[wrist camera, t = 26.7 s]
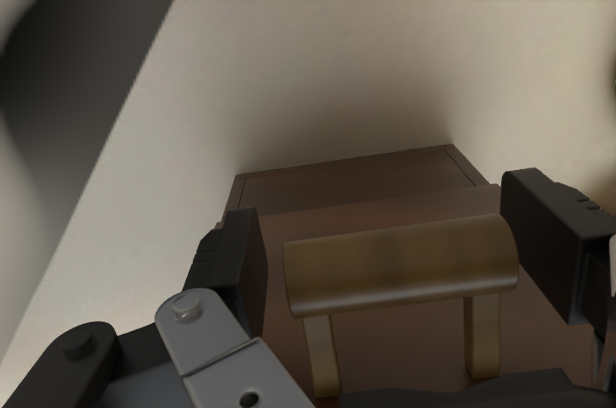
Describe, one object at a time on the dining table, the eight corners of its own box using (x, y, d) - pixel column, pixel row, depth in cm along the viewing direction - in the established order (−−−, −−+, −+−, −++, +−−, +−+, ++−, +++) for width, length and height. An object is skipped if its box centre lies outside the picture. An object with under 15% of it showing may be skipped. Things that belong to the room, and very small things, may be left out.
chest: (452, 304, 36) (484, 372, 29) (271, 327, 36) (266, 398, 30) (453, 143, 29) (493, 186, 23) (235, 175, 30) (219, 224, 24)
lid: (759, 434, 10) (826, 223, 8) (112, 505, 10) (30, 328, 9) (496, 197, 23) (497, 98, 21) (219, 235, 24) (197, 143, 22)
